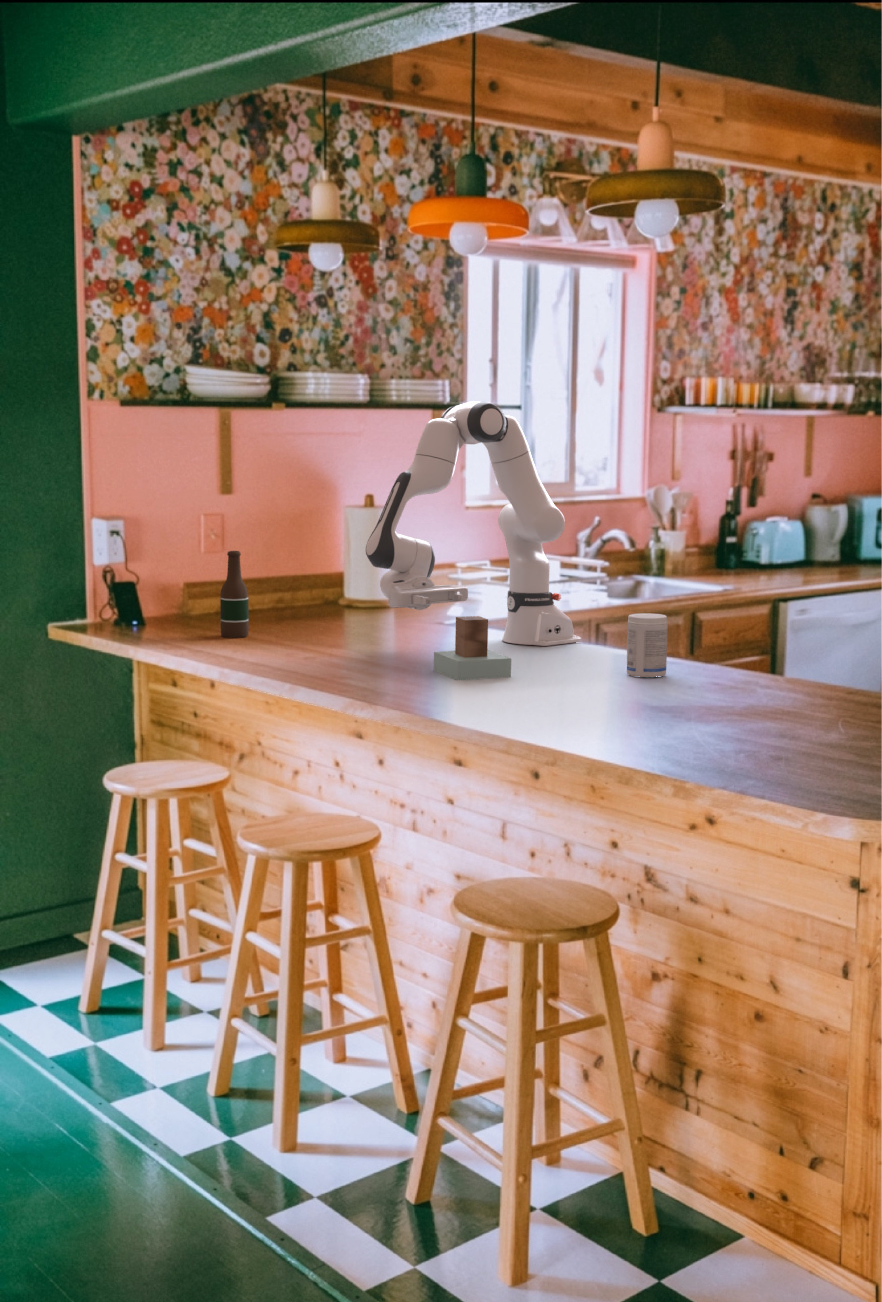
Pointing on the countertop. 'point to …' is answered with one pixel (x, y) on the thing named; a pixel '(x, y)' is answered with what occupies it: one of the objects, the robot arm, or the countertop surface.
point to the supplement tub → (647, 645)
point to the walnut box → (471, 636)
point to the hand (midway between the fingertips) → (443, 599)
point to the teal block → (472, 665)
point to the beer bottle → (234, 601)
